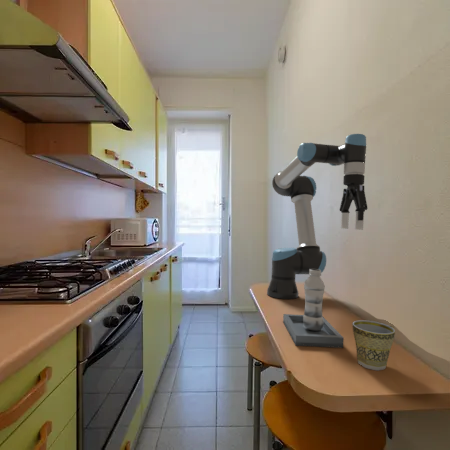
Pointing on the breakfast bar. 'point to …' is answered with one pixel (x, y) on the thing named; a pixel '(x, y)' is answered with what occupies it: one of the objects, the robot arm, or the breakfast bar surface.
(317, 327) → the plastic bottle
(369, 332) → the ceramic cup
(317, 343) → the tray
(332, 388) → the breakfast bar surface
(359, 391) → the breakfast bar surface
